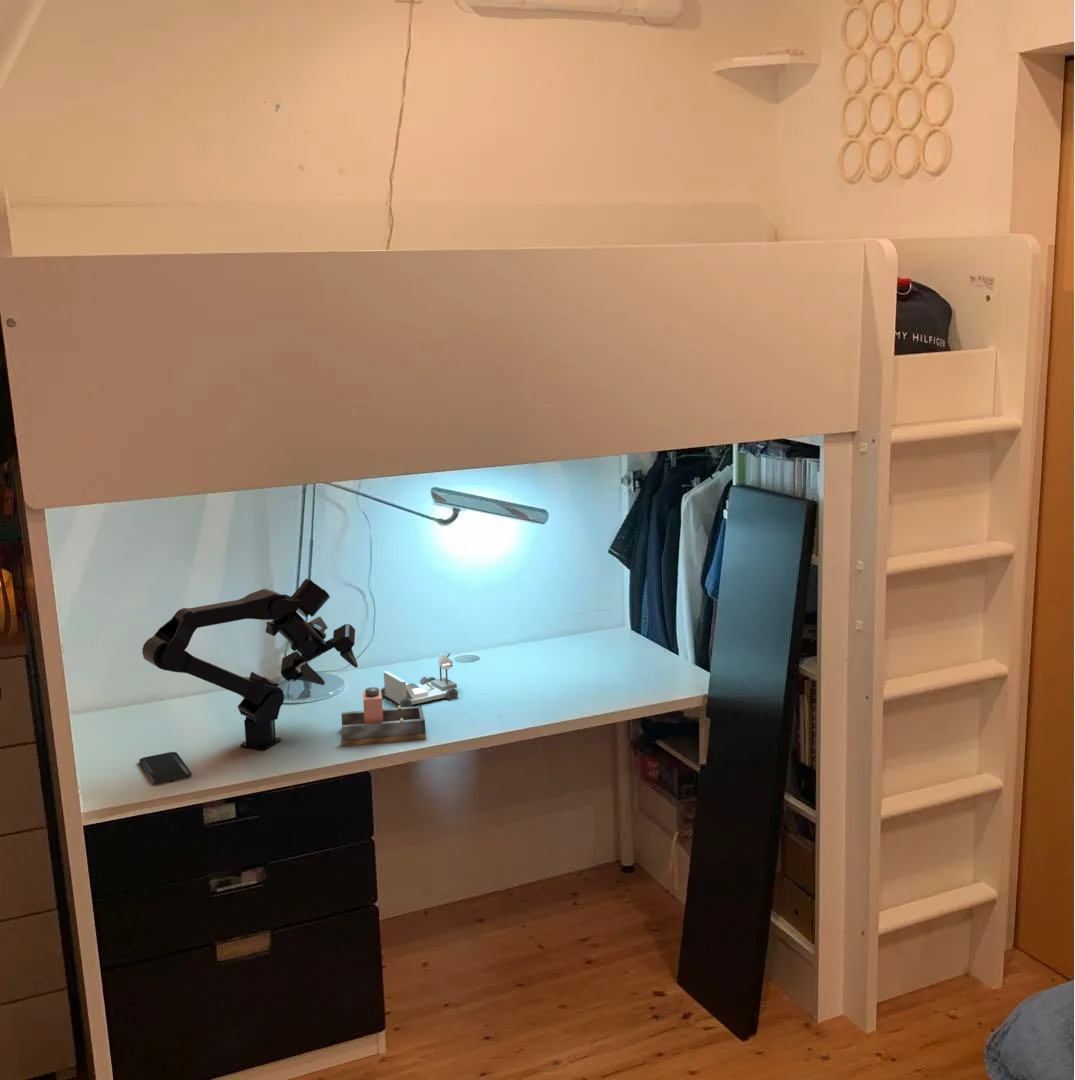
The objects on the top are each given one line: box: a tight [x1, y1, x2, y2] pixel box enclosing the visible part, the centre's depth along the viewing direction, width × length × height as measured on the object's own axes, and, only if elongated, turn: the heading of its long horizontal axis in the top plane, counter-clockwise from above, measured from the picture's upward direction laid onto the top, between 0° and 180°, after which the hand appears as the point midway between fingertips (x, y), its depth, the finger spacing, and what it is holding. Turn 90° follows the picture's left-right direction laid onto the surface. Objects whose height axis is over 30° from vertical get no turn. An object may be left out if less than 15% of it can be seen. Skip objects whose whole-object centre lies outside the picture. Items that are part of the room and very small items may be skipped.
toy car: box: [380, 652, 459, 708], centre depth 280 cm, size 18×10×12 cm
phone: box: [139, 751, 193, 786], centre depth 239 cm, size 8×1×15 cm
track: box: [340, 705, 427, 747], centre depth 257 cm, size 18×11×4 cm, turn 100°
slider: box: [362, 686, 384, 723], centre depth 255 cm, size 4×6×9 cm, turn 10°
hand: (340, 674), depth 263 cm, fingers open, 9 cm apart
